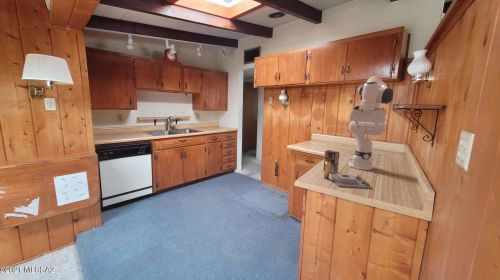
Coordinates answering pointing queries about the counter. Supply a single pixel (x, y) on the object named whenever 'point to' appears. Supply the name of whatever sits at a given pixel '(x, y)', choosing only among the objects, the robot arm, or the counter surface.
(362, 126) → the robot arm
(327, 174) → the pin
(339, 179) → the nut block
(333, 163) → the coffee box
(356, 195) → the counter surface
